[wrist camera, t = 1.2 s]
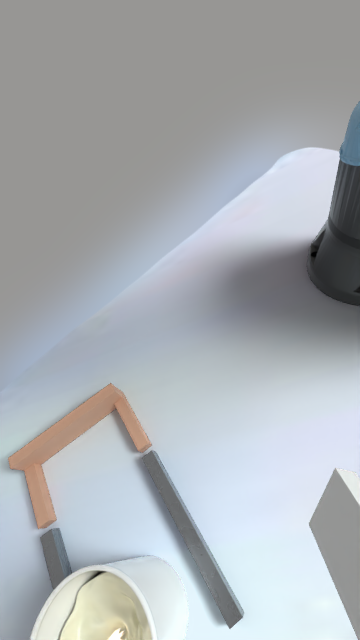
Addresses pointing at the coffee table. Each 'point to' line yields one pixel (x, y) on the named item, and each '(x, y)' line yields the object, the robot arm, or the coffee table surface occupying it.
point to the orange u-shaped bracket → (65, 434)
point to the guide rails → (188, 530)
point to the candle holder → (117, 603)
